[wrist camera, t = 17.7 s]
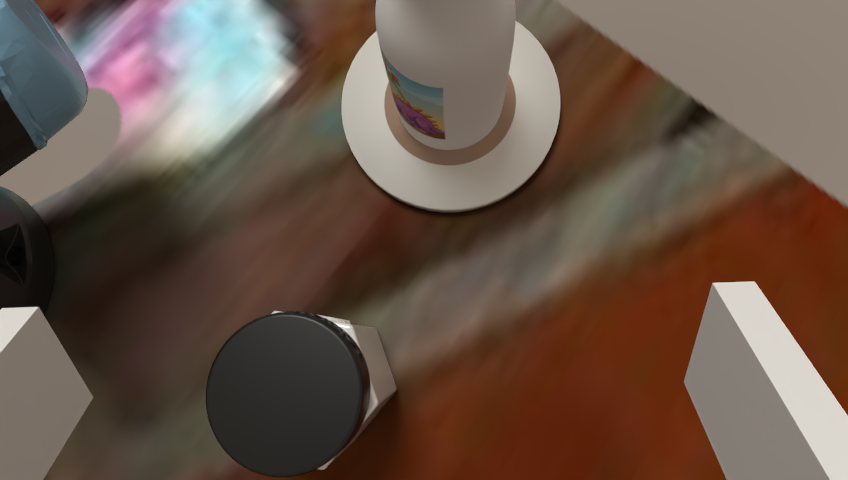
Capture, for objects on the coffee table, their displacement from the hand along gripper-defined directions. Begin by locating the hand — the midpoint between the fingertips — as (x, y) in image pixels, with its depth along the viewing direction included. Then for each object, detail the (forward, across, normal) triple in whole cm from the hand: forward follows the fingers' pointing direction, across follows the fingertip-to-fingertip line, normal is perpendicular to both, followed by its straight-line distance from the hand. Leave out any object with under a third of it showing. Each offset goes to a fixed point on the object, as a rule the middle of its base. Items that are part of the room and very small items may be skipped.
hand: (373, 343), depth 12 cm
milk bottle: (+32, +2, -8) cm, 33 cm away
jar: (+19, -7, -23) cm, 31 cm away
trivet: (+33, +2, -9) cm, 34 cm away
